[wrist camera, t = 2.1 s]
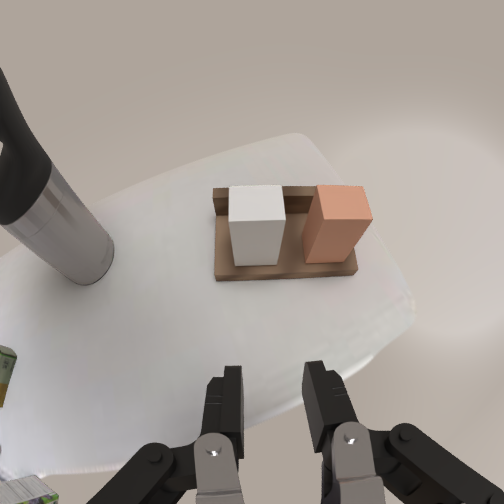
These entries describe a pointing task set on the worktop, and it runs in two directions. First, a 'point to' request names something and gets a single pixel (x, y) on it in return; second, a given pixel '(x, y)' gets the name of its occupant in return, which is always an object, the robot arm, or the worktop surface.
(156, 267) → the worktop surface
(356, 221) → the orange tall block
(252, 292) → the worktop surface
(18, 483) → the syrup box
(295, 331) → the worktop surface
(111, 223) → the worktop surface
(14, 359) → the medication box
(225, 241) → the console
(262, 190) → the grey rectangular block
